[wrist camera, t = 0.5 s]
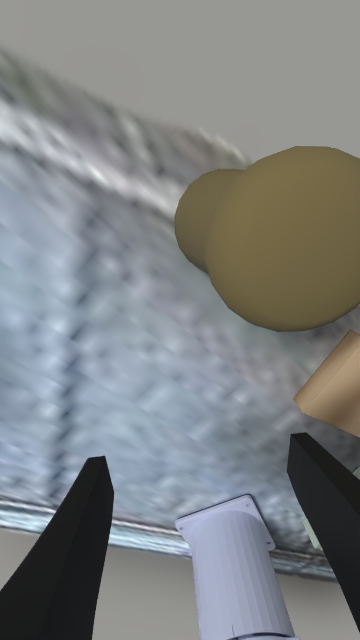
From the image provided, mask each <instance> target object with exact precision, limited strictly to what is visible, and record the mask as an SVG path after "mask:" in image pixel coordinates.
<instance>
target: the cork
mask: <svg viewBox="0 0 360 640" xmlns="http://www.w3.org/2000/svg"><path fill="white" fill-rule="evenodd" d="M175 235H176V238H177V242H178V245H179V248H180V249H181V251H182V252H183V254H184V255H185V256H186V258H187V259H188V260H189V261H190V262H191V263H193V264H194V265H195V266H197V267H198V268H200V269H201V270H203V271H205V272H207V273H209V276H210V279H211V283H212V285H213V286H214V288H215V290H216V291H217V293H218V294H219V295H220V297H221V298H222V300H223V301H224V302H225V304H226V305H227V307H228V308H229V309H230V310H232V311H233V312H234V313H236V314H237V315H239V316H240V317H242V318H243V319H244V320H246V321H247V322H249V323H251V324H254V325H256V326H259V327H263V328H266V329H270V330H274V331H277V332H285V331H304V330H309V329H313V328H316V327H319V326H322V325H325V324H328V323H331V322H334V321H335V320H337V319H339V318H340V317H342V316H343V315H345V314H347V313H348V312H350V311H351V310H353V309H355V308H356V307H357V306H358V305H359V304H360V159H359V158H357V157H354V156H352V155H350V154H348V153H345V152H343V151H341V150H339V149H335V148H330V147H314V146H295V147H292V148H290V149H287V150H284V151H281V152H278V153H276V154H273V155H270V156H267V157H265V158H263V159H260V160H258V161H257V162H255V163H254V164H253V165H251V166H250V167H249V168H248V169H246V170H245V171H244V170H237V169H217V170H214V171H212V172H209V173H206V174H203V175H202V176H200V177H199V178H198V179H197V180H195V181H194V182H193V183H192V184H190V185H189V187H188V188H187V190H186V191H185V193H184V194H183V196H182V197H181V199H180V200H179V204H178V207H177V210H176V214H175Z"/></svg>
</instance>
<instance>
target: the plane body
mask: <svg viewBox="0 0 360 640" xmlns="http://www.w3.org/2000/svg"><path fill="white" fill-rule="evenodd" d="M293 400H294V401H295V402H296V404H297V405H298V407H299V408H300V410H301V411H302V413H304V414H307V415H309V416H311V417H314V418H316V419H318V420H320V421H323V422H325V423H327V424H330V425H332V426H334V427H337V428H339V429H341V430H344V431H346V432H348V433H350V434H353V435H355V436H357V437H360V335H359V334H357V333H355V332H354V331H352V330H350V331H349V332H348V333H347V334H346V336H345V337H344V338H343V339H342V341H341V342H340V343H339V344H338V345H337V347H336V348H335V349H334V350H333V351H332V353H331V354H330V355H329V356H328V357H327V359H326V360H325V361H324V362H323V364H322V365H321V366H320V367H319V368H318V370H317V371H316V372H315V373H314V374H313V376H312V377H311V378H310V379H309V380H308V382H307V383H306V384H305V385H304V387H303V388H302V389H301V390H300V391H299V393H298V394H297V395H296V396H295V397H294V399H293Z"/></svg>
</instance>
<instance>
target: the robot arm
mask: <svg viewBox="0 0 360 640" xmlns="http://www.w3.org/2000/svg"><path fill="white" fill-rule="evenodd" d="M287 473H288V476H289V478H290V481H291V484H292V486H293V489H294V492H295V494H296V497H297V499H298V501H299V504H300V506H301V508H302V510H303V512H304V514H305V516H306V518H307V520H308V522H309V524H310V526H311V528H312V530H313V532H314V534H315V536H316V538H317V540H318V541H319V543H320V545H321V547H322V549H323V551H324V553H325V555H326V557H327V559H328V561H329V563H330V565H331V567H332V569H333V571H334V573H335V576H336V578H337V580H338V582H339V584H340V586H341V589H342V591H343V593H344V596H345V598H346V601H347V603H348V605H349V608H350V610H351V613H352V615H353V618H354V620H355V622H356V625H357V627H358V630H359V632H360V479H358V478H357V477H356V476H355V475H354V474H352V473H351V472H350V471H349V470H348V469H347V468H345V467H344V466H343V465H342V464H341V463H340V462H339V461H338V460H336V459H335V458H334V457H333V456H332V455H331V454H330V453H329V452H328V451H326V450H325V449H324V448H323V447H322V446H321V445H320V444H319V443H318V442H317V441H315V440H314V439H313V438H312V437H311V436H310V435H309V434H308V433H306V432H305V433H297V434H291V438H290V447H289V457H288V466H287ZM113 501H114V490H113V486H112V482H111V478H110V474H109V470H108V466H107V462H106V458H105V456H100V457H91V458H88V459H87V460H86V462H85V464H84V466H83V468H82V469H81V471H80V473H79V475H78V477H77V478H76V480H75V482H74V483H73V485H72V487H71V489H70V490H69V492H68V494H67V495H66V497H65V499H64V500H63V502H62V503H61V505H60V507H59V508H58V510H57V511H56V513H55V515H54V516H53V518H52V519H51V521H50V522H49V524H48V525H47V527H46V528H45V530H44V531H43V533H42V534H41V536H40V537H39V539H38V540H37V542H36V543H35V545H34V546H33V548H32V549H31V550H30V552H29V553H28V555H27V556H26V557H25V559H24V560H23V562H22V563H21V564H20V566H19V567H18V568H17V570H16V571H15V572H14V574H13V575H12V576H11V578H10V579H9V580H8V582H7V583H6V584H5V585H4V587H3V588H2V589H1V591H0V640H92V634H93V625H94V617H95V611H96V604H97V599H98V593H99V588H100V583H101V577H102V572H103V567H104V561H105V556H106V551H107V545H108V540H109V534H110V529H111V523H112V512H113ZM175 527H176V528H177V530H178V531H179V532H180V534H181V535H182V537H183V538H184V539H185V541H186V542H187V543H188V545H189V546H190V547H191V550H192V561H193V571H194V580H195V591H196V601H197V611H198V621H199V632H200V640H300V637H298V636H296V637H295V634H294V631H293V628H292V624H291V621H290V618H289V615H288V612H287V609H286V605H285V603H284V599H283V596H282V593H281V590H280V587H279V584H278V580H277V577H276V574H275V571H274V568H273V565H272V561H271V558H270V555H269V552H268V551H271V550H274V549H275V547H276V546H275V543H274V541H273V539H272V537H271V535H270V533H269V531H268V529H267V527H266V525H265V523H264V521H263V519H262V517H261V515H260V513H259V511H258V509H257V507H256V505H255V503H254V501H253V499H252V497H251V496H249V495H244V496H242V497H239V498H236V499H233V500H230V501H227V502H225V503H222V504H219V505H216V506H213V507H211V508H208V509H205V510H202V511H199V512H197V513H194V514H191V515H188V516H185V517H183V518H180V519H177V520H176V521H175Z"/></svg>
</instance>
